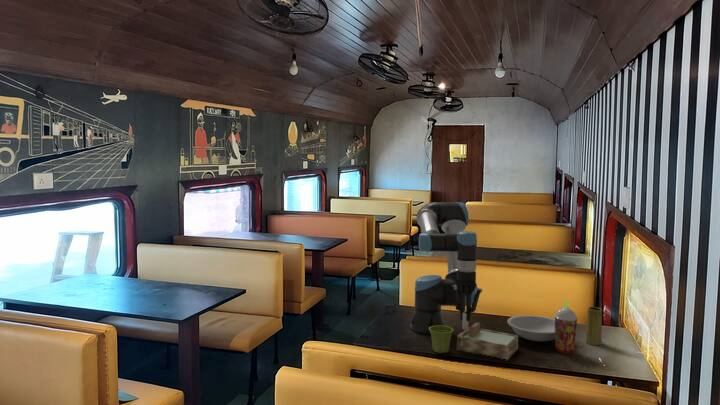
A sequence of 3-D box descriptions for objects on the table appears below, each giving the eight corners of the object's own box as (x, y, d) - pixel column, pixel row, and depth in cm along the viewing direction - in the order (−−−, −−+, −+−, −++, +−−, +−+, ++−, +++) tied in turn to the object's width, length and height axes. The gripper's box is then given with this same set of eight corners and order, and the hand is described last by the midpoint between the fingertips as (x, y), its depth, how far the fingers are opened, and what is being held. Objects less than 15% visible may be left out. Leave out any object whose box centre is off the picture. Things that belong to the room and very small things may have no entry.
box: (456, 349, 204) (456, 335, 204) (469, 339, 216) (469, 326, 216) (507, 360, 194) (507, 345, 193) (517, 349, 205) (518, 335, 205)
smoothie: (549, 347, 207) (551, 298, 206) (569, 347, 208) (571, 298, 207) (559, 355, 199) (561, 304, 198) (580, 354, 200) (582, 303, 198)
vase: (600, 341, 216) (602, 307, 214) (602, 346, 210) (603, 311, 209) (584, 339, 218) (586, 306, 216) (586, 344, 212) (587, 309, 211)
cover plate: (462, 340, 204) (462, 328, 204) (473, 331, 214) (473, 320, 214) (506, 348, 195) (506, 336, 194) (515, 339, 205) (515, 327, 204)
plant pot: (434, 344, 210) (434, 323, 210) (456, 349, 205) (456, 327, 205) (424, 351, 202) (425, 330, 201) (447, 356, 197) (448, 334, 197)
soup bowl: (572, 351, 204) (572, 334, 204) (509, 346, 209) (509, 330, 208) (561, 331, 228) (561, 317, 227) (504, 328, 232) (505, 313, 232)
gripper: (447, 270, 208) (446, 327, 210) (478, 273, 201) (477, 333, 202) (454, 267, 214) (453, 323, 216) (485, 270, 207) (484, 328, 209)
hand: (465, 328), depth 209 cm, fingers closed
